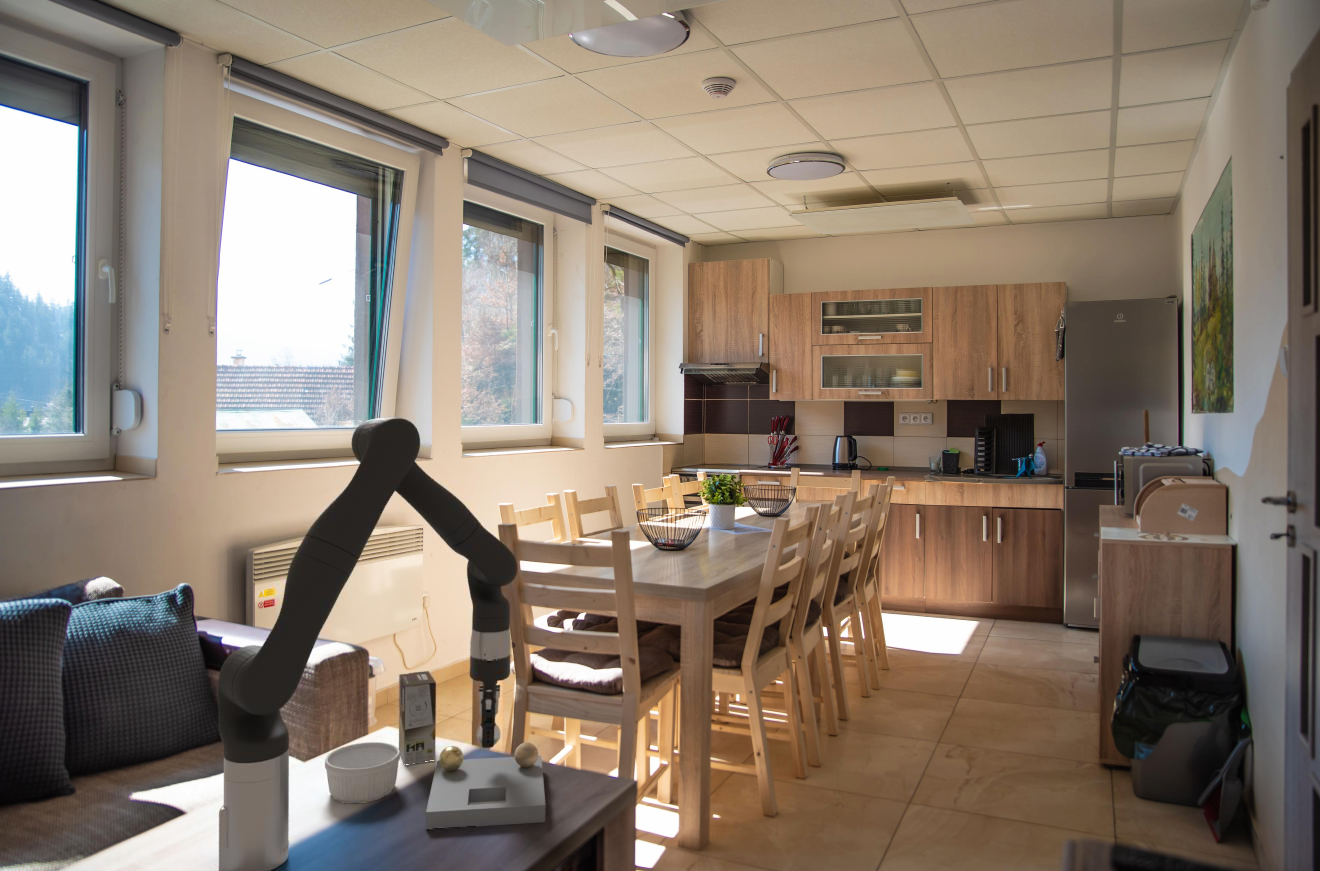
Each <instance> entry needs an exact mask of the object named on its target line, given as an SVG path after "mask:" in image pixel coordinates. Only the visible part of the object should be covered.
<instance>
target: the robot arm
mask: <svg viewBox="0 0 1320 871" xmlns="http://www.w3.org/2000/svg"><path fill="white" fill-rule="evenodd" d="M420 447H421V437H420V433H419V430H418V428H417V426H416V425H415V424H414V423H413V422H412V421H410V420H408V419H407V418H402V417H395V416H394V417H390V416H389V417H379V418H378V417H377V418H373V419H368V420H366V421H364V422H362V423H360V424H359V425H358V426H357V427H356V428H355V430H354V432H353V434H352V437H351V450H352V453H353V456H354V457H355V459H356V460H357V461H358V463H359V465H358V467H357V469H356V471H355V473H354V475H353V476H352V478H351V480H350V482H348V484H347V485H346V487H345V488H344V490H343V491H342V492H341V493H340V494H339V495H338V496H337V497H336V498H335V499H334V500H333V501H332V502H331V503H330V504H329V505H328V506H327V507H326V509H324V510H323V512H321V514H320V515H319V516H318V517H317V519H315V521H314V522H313V523H312V524H311V526H310V527H309V529H308V530H307V533H305V536H304V537H303V539H302V541H301V543H300V545H299V546H298V548H297V550H296V551H295V554H294V556H293V557H292V560H291V562H290V565H289V568H288V571H287V575H286V579H285V584H284V585H285V586H284V591H283V598H282V603H281V606H280V610H279V613H278V616H277V618H276V621H275V623H274V626H273V627H272V629H271V630H270V632H269V634H268V636H267V638H266V639H265V641H264V642H263V644H262V646H260V645H254V644H252V645H246V646H242V647H240V648H238V649H236V650H235V651H233V652H232V653H231V654H230V655H228V657H227V658H226V659H225V661H223V664H222V666H221V667H220V671H219V675H218V680H217V710H218V711H217V712H218V730H219V735H220V739H221V740H220V741H221V742H222V746H223V805H222V806H221V808H220V809H219V813H218V871H272V870H275V869H276V868H278V867H279V866H282V865H283V864H284V863H285V862H286V861H287V860H288V857H289V847H290V846H289V845H290V840H289V830H290V829H289V826H290V824H289V822H290V820H289V819H290V818H289V816H290V811H289V810H290V808H289V806H290V801H289V800H290V795H289V794H290V792H289V791H290V783H289V782H290V781H289V779H290V733H289V730H288V728H287V726H286V723H285V722H284V720H283V718H282V715H281V714H282V713H281V708H283V707H284V706H285V705H287V703H288V702H289V701H290V700H291V698H292V697H293V696H294V693H295V691H296V690H297V688H298V685H300V684H299V683H300V681H301V679H302V676H303V674H304V671H305V669H306V667H307V664H308V661H309V659H310V656H311V654H312V652H313V649H314V647H315V644H316V642H317V639H318V638H319V636H320V633H321V631H322V629H323V627H324V626H325V623H326V622H327V620H328V617H329V616H330V614H331V612H332V610H333V608H334V606H335V605H336V603H337V600H338V598H339V596H340V594H341V592H342V590H343V589H344V587H345V585H346V584H347V582H348V580H349V579H350V577H351V575H352V574H353V571H354V569H355V568H356V566H357V564H358V562H359V559H360V558H361V555H362V553H363V552H364V549H365V547H366V545H367V543H368V541H369V539H370V537H371V536H372V534H373V532H374V530H375V528H376V526H377V524H378V523H379V520H380V519H381V516H382V514H383V512H384V510H385V508H386V506H387V504H388V503H389V501H390V499H391V498H392V496H393V494H394V493H395V492H396V493H397V494H398V496H400V497H401V498H402V499H404V500H405V502H407V503H408V504H409V505H410V506H411V507H412V508H413V509H414V510H415V511H416V512H417V513H418V514H419V515H420V516H421V517H422V518H423V520H425V521H426V523H427V524H428V525H429V526H430V527H431V528H432V529H433V530H434V531H435V533H436V534H437V535H438V536H439V537H440V538H441V539H442V540H443V542H444V543H445V544H446V545H447V546H448V547H449V548H450V549H451V550H452V551H453V552H454V553H456V554H458V555H459V556H462V557H464V558H465V559H466V560H467V565H466V577H467V583H468V589H469V595H470V599H471V604H472V615H471V616H472V619H471V636H470V642H469V643H470V644H469V646H470V647H469V677H470V678H471V680H473V681H475V682H480V683H481V682H482V683H483V684H482V685H481V684H480V685H479V687H478V699H479V712H478V713H479V715H481V723H480V726H481V728H482V745H481V747H482V748H484V749H485V748H487V749H489V748H490V749H491V748H493V747H494V746H495V745H494V728H495V726H496V725H497V722H496V716H497V714H498V713H499V701H500V700H499V699H500V697H501V684H498V682H500V681H505V680H506V679H508V678H509V677H510V675H511V651H512V650H511V649H512V647H511V645H512V643H511V642H512V641H511V640H512V639H511V629H510V626H511V623H510V621H511V604H510V601H509V599H508V598H507V597H505V596H504V594H503V592H502V587H504V586H508V585H509V584H512V582H513V581H514V580H515V579H516V577H517V574H518V570H519V569H518V561H517V559H516V557H515V554H514V553H513V552H512V551H511V550H510V549H509V548H508V547H507V546H506V545H505V544H504V543H503V542H502V541H501V540H499V539H498V538H497V537H496V536H495V535H493V534H492V533H491V532H490V531H488V530H487V529H486V528H485V527H484V526H483V525H482V523H481V522H480V521H479V520H478V518H477V517H476V516H475V515H474V514H473V513H472V511H471V510H470V508H468V507H467V506H466V504H464V502H462V501H461V500H460V499H459V498H458V497H457V496H456V495H454V494H453V492H451V491H450V490H448V489H447V488H445V487H444V486H443V485H441V483H439V482H437V481H436V480H435V479H434V478H432V477H431V476H430V475H428V473H427V472H425V470H423V469H422V467H421V466H419V464H417V462H416V460H417V457H418V455H419V452H420V449H421V448H420Z"/></svg>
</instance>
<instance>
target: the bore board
mask: <svg viewBox="0 0 1320 871" xmlns="http://www.w3.org/2000/svg"><path fill="white" fill-rule="evenodd" d="M435 765H436V766H435V768H434V769H435V770H434V773H433V779H432V784H431V788H430V792H429V797H428V802H427V806H426V811H425V829H426V828H435V827H436V828H438V827H445V829H448V828H447V827H461V828H467V827H466V826H476V827H486V826H487V827H490V826H505V825H506V826H507V825H519V824H520V825H521V824H523V825H524V824H536V823H537V824H538V823H546V796H545V783H544V772H543V761H542V755H538V759H537V761H536V762H535V764H533V765H532V766H530V767H521V766H520V765H518V764H517V762H516V760H515V756H506V757H503V756H502V757H486V758H484V757H483V758H469V759H467V758H466V759H463V763H462V765H461V766H460V767H459V768H458V769H457V770H455V771H446V770H444V769H443V768H442V767H441V765H440V763H439V760H437V761H436V764H435ZM463 826H464V827H463Z"/></svg>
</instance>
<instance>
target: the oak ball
mask: <svg viewBox="0 0 1320 871" xmlns="http://www.w3.org/2000/svg"><path fill="white" fill-rule="evenodd" d="M538 756H539V749H538V748H537V746H536V745H535V744H534V743H532V742H530V741H529V742H527V741H525V742H523V743H520V744H519V745H518V746H517V747H516V749H515V752H514V757H515V760H516V762H517V764H518V765H520V766H521V767H530V766H532V765H533V764H535V762H536V761H537V759H538Z"/></svg>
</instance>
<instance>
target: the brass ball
mask: <svg viewBox="0 0 1320 871" xmlns="http://www.w3.org/2000/svg"><path fill="white" fill-rule="evenodd" d="M464 756H465V755H464V753H463V750H462V749H461V748H460V747H458V746H455V745H450V746H447V747H445V748H444V749H442V751H441V752H440V754H439V757H438V761H439V763H440V765H441V767H442V768H443V769H444V770H446V771H455V770H457V769H458V768H459V767H460V766H461V765H462V763H463V759H464Z"/></svg>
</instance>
